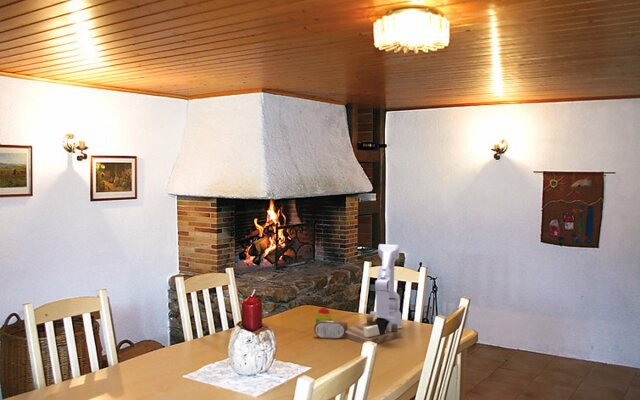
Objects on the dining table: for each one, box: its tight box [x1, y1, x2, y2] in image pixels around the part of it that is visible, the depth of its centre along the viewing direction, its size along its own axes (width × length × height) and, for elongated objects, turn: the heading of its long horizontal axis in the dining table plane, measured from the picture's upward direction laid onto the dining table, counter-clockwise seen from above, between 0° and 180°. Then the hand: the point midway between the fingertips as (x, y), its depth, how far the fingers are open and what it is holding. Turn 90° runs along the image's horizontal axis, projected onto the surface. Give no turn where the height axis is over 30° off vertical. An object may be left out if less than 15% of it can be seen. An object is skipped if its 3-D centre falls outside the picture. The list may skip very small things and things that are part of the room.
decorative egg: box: [315, 307, 333, 324], centre depth 299 cm, size 8×8×10 cm
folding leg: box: [364, 323, 389, 337], centre depth 277 cm, size 15×3×4 cm, turn 129°
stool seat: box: [341, 316, 403, 345], centre depth 283 cm, size 22×22×6 cm
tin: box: [313, 320, 346, 340], centre depth 280 cm, size 15×3×8 cm, turn 84°
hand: (382, 334), depth 271 cm, fingers closed
